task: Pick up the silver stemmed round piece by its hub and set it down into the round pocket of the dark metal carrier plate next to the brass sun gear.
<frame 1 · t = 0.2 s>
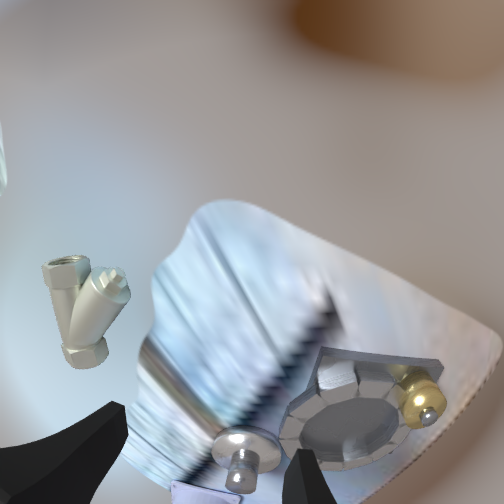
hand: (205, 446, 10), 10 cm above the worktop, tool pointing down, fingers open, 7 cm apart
pipe fitting: (105, 304, 21), on the worktop
silver stemmed round piece: (248, 445, 22), on the worktop
carrier: (361, 405, 20), on the worktop
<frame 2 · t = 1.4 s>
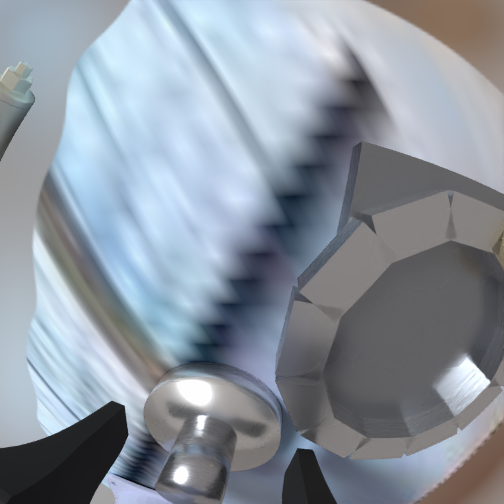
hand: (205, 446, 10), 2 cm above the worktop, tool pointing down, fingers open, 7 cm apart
pipe fitting: (8, 142, 11), on the worktop
silver stemmed round piece: (216, 412, 12), on the worktop
carrier: (438, 308, 10), on the worktop
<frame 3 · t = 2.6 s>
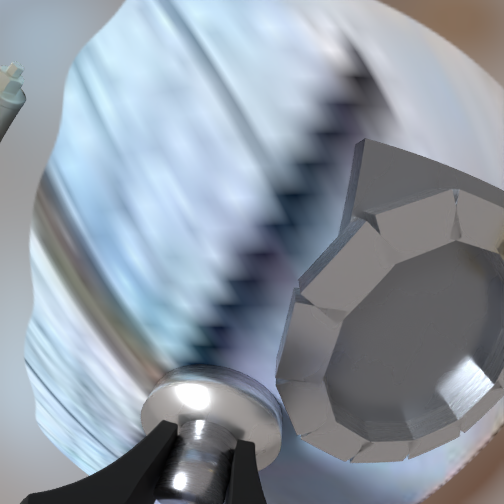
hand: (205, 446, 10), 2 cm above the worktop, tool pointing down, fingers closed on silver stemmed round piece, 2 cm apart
pipe fitting: (0, 140, 11), on the worktop
silver stemmed round piece: (215, 416, 12), on the worktop, touching gripper
carrier: (441, 309, 10), on the worktop
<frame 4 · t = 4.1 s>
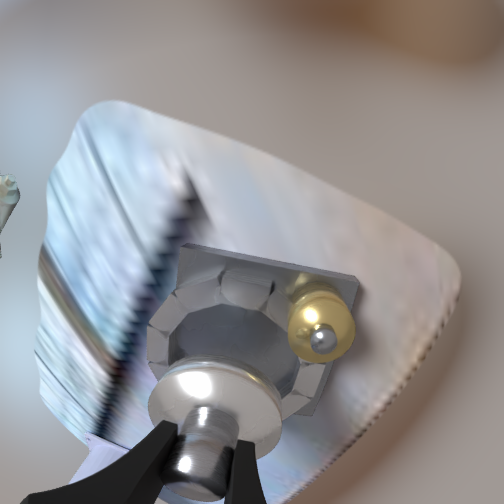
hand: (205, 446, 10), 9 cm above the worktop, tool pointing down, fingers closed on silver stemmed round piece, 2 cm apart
pipe fitting: (7, 213, 19), on the worktop
silver stemmed round piece: (218, 405, 12), point 6 cm above the worktop, touching gripper
carrier: (255, 335, 18), on the worktop
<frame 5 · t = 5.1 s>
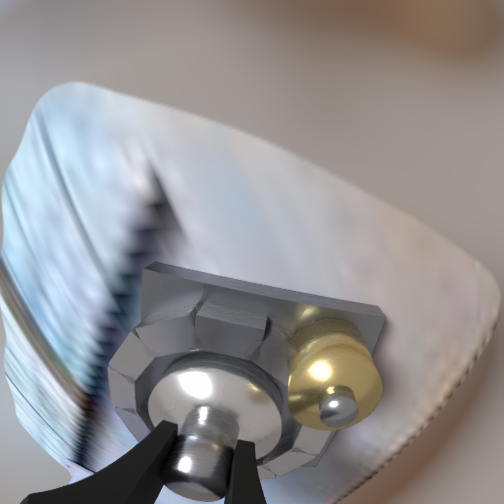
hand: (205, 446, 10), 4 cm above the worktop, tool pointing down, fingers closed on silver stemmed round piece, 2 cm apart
silver stemmed round piece: (218, 405, 12), point 1 cm above the worktop, touching carrier, gripper
carrier: (246, 379, 13), on the worktop
when the fingers open (4 cm above the worktop, at t = 5.5 s): silver stemmed round piece stays where it is, resting on carrier.
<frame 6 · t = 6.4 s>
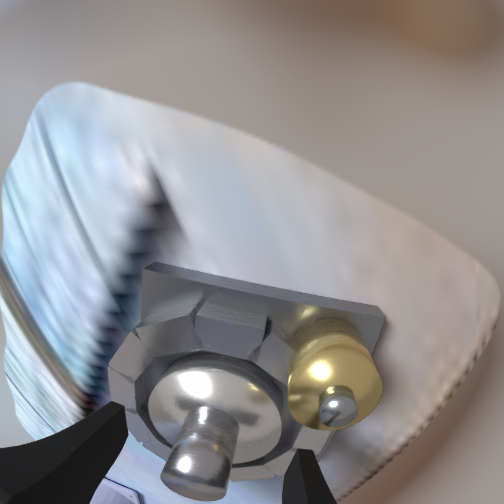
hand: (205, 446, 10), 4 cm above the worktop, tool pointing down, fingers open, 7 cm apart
silver stemmed round piece: (218, 404, 13), point 1 cm above the worktop, touching carrier
carrier: (246, 379, 13), on the worktop
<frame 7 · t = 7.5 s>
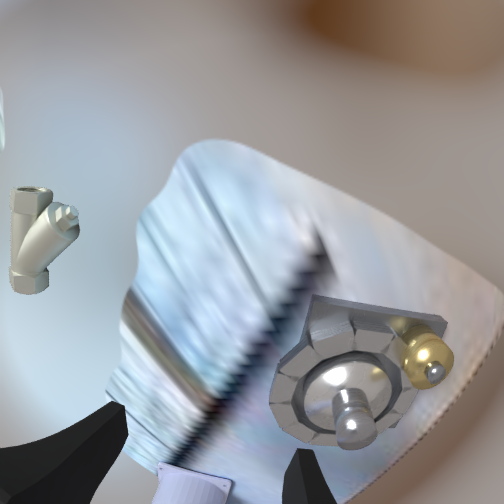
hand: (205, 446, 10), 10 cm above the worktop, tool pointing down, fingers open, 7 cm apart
pipe fitting: (57, 239, 20), on the worktop
silver stemmed round piece: (345, 388, 18), point 1 cm above the worktop, touching carrier
carrier: (360, 368, 19), on the worktop
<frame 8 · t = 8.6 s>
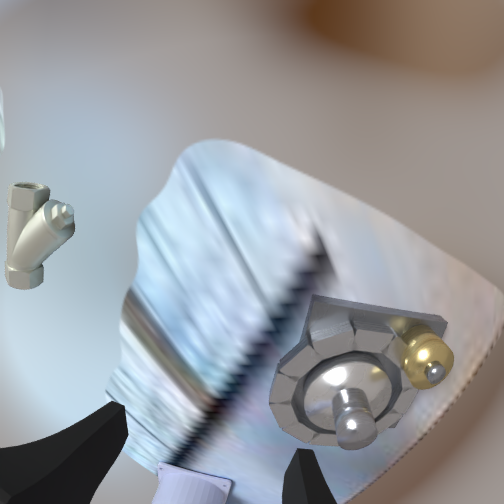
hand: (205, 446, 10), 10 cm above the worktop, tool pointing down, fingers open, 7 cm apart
pipe fitting: (53, 235, 20), on the worktop
silver stemmed round piece: (345, 388, 18), point 1 cm above the worktop, touching carrier
carrier: (360, 368, 19), on the worktop
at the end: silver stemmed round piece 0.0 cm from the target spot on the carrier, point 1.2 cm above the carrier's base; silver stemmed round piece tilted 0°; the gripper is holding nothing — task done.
